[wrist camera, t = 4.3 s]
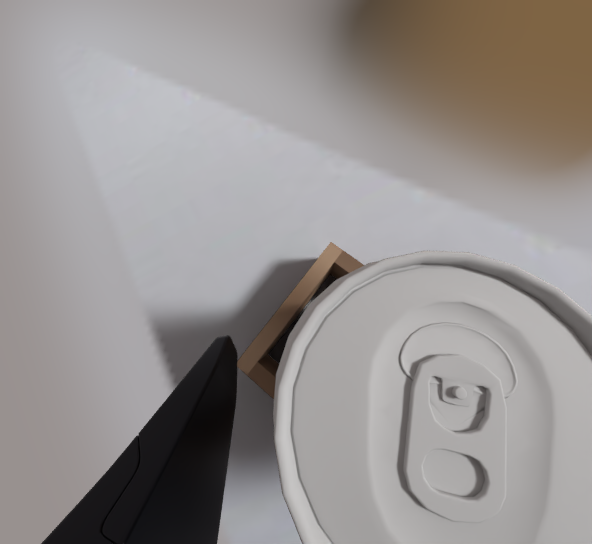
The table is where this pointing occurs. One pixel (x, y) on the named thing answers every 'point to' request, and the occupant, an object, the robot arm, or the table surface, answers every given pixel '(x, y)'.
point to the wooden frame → (291, 316)
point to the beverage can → (437, 407)
